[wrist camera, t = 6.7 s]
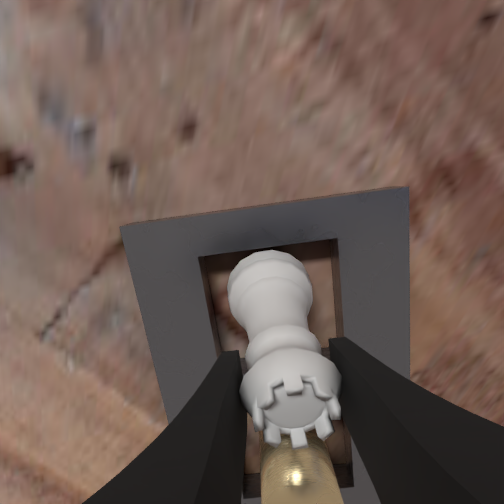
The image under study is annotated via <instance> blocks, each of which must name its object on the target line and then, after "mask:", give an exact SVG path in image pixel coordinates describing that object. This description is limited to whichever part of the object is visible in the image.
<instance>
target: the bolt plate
mask: <svg viewBox="0 0 504 504" xmlns="http://www.w3.org/2000/svg"><path fill="white" fill-rule="evenodd" d="M120 231H121V235H122V239H123V243H124V247H125V251H126V255H127V259H128V263H129V267H130V271H131V275H132V279H133V283H134V287H135V291H136V295H137V299H138V303H139V307H140V311H141V315H142V319H143V323H144V327H145V331H146V335H147V339H148V343H149V347H150V351H151V355H152V359H153V363H154V367H155V371H156V375H157V379H158V383H159V387H160V391H161V395H162V399H163V403H164V407H165V411H166V415H167V419H168V423H169V424H170V423H171V422H172V421H173V419H174V418H175V417H176V416H177V415H178V413H179V412H180V411H181V410H182V408H183V407H184V406H185V405H186V403H187V402H188V401H189V399H190V398H191V397H192V396H193V394H194V393H195V391H196V390H197V389H198V387H199V386H200V384H201V383H202V381H203V380H204V379H205V377H206V376H207V374H208V373H209V371H210V370H211V368H212V366H213V365H214V363H215V362H216V360H217V359H218V357H219V355H220V354H221V353H222V352H221V346H220V341H219V335H218V330H217V324H216V319H215V314H214V308H213V303H212V297H211V292H210V286H209V281H208V275H207V270H206V265H205V259H204V256H207V255H214V254H222V253H229V252H237V251H244V250H252V249H259V248H266V247H274V246H281V245H289V244H296V243H304V242H311V241H318V240H326V239H330V249H331V262H332V276H333V290H334V304H335V317H336V331H337V338H339V337H347V338H348V339H350V340H351V341H352V342H354V343H355V344H357V345H358V346H359V347H361V348H362V349H363V350H365V351H366V352H368V353H369V354H370V355H372V356H373V357H375V358H376V359H378V360H379V361H381V362H382V363H383V364H385V365H386V366H388V367H389V368H391V369H393V370H394V371H396V372H397V373H399V374H400V375H402V376H404V377H405V378H407V379H409V380H410V273H409V187H386V188H379V189H372V190H365V191H358V192H350V193H343V194H336V195H329V196H322V197H315V198H307V199H300V200H293V201H286V202H279V203H271V204H264V205H257V206H250V207H243V208H235V209H228V210H221V211H214V212H207V213H199V214H192V215H185V216H178V217H171V218H163V219H156V220H149V221H142V222H135V223H130V224H127V225H124V226H120ZM321 354H322V356H323V357H325V358H327V359H328V360H330V351H329V348H321ZM240 362H241V368H242V374H243V377H244V375H245V374H246V373H247V372H248V371H249V370H248V369H247V365H246V360H245V358H240ZM343 427H344V441H345V455H346V464H338V465H332V462H331V458H330V455H329V452H328V448H327V445H326V441H325V440H324V441H323V440H321V439H320V438H319V437H318V435H317V432H316V428H315V429H312V430H310V431H308V432H305V434H306V438H307V442H308V447H309V448H302V449H295V450H292V445H291V439H290V435H287V434H280V437H281V443H280V444H279V446H278V447H277V448H276V447H274V446H271V445H269V444H267V443H265V442H264V440H263V430H261V431H259V446H260V473H258V474H249V475H244V473H243V485H242V497H241V504H381V502H380V500H379V498H378V495H377V493H376V490H375V488H374V486H373V483H372V481H371V479H370V477H369V475H368V472H367V470H366V468H365V466H364V464H363V461H362V459H361V457H360V455H359V453H358V451H357V448H356V446H355V444H354V442H353V440H352V437H351V435H350V433H349V431H348V428H347V426H346V424H345V422H344V420H343Z"/></svg>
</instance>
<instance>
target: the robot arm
mask: <svg viewBox="0 0 504 504" xmlns="http://www.w3.org/2000/svg"><path fill="white" fill-rule="evenodd" d="M329 351H330V361H332V362H333V363H334V364H335V366H336V368H337V369H338V371H339V373H340V374H341V376H342V393H341V395H340V397H339V399H338V402H339V404H340V407H341V415H342V417H343V420H344V422H345V424H346V426H347V428H348V431H349V433H350V435H351V437H352V440H353V442H354V444H355V446H356V448H357V451H358V453H359V455H360V457H361V459H362V461H363V464H364V466H365V468H366V470H367V472H368V475H369V477H370V479H371V481H372V483H373V486H374V488H375V490H376V493H377V495H378V498H379V500H380V502H381V504H504V427H503V426H501V425H498V424H496V423H494V422H492V421H489V420H487V419H485V418H482V417H480V416H478V415H476V414H473V413H471V412H469V411H467V410H465V409H463V408H461V407H458V406H456V405H454V404H452V403H451V402H449V401H447V400H445V399H443V398H441V397H439V396H437V395H435V394H433V393H431V392H429V391H428V390H426V389H424V388H422V387H420V386H419V385H417V384H415V383H414V382H412V381H410V380H409V379H407V378H405V377H404V376H402V375H400V374H399V373H397V372H396V371H394V370H393V369H391V368H389V367H388V366H386V365H385V364H383V363H382V362H381V361H379V360H378V359H376V358H375V357H373V356H372V355H370V354H369V353H368V352H366V351H365V350H363V349H362V348H361V347H359V346H358V345H357V344H355V343H354V342H352V341H351V340H350V339H348V338H347V337H339V338H331V339H329ZM242 380H243V374H242V368H241V362H240V356H239V350H235V351H227V352H222V353H221V354H220V355H219V357H218V359H217V360H216V362H215V363H214V365H213V366H212V368H211V370H210V371H209V373H208V374H207V376H206V377H205V379H204V380H203V381H202V383H201V384H200V386H199V387H198V389H197V390H196V391H195V393H194V394H193V396H192V397H191V398H190V399H189V401H188V402H187V403H186V405H185V406H184V407H183V408H182V410H181V411H180V412H179V413H178V415H177V416H176V417H175V418H174V419H173V421H172V422H171V423H170V424H169V425H168V426H167V427H166V428H165V429H164V431H163V432H162V433H161V434H160V435H159V436H158V437H157V438H156V439H155V440H154V441H153V442H152V443H151V444H150V445H149V446H148V447H147V448H146V449H145V450H144V451H143V452H141V453H140V454H139V455H138V456H137V457H136V458H135V459H134V460H133V461H132V462H131V463H130V464H129V465H128V466H127V467H125V468H124V469H123V470H122V471H121V472H120V473H119V474H118V475H116V476H115V477H114V478H113V479H112V480H110V481H109V482H108V483H107V484H106V485H105V486H103V487H102V488H101V489H100V490H98V491H97V492H96V493H95V494H93V495H92V496H91V497H90V498H88V499H87V500H86V501H85V502H83V503H82V504H241V497H242V485H243V473H244V461H245V448H246V436H247V411H246V410H245V409H244V408H243V406H242V403H241V399H240V394H239V389H240V386H241V383H242Z"/></svg>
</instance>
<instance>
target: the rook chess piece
mask: <svg viewBox="0 0 504 504" xmlns="http://www.w3.org/2000/svg"><path fill="white" fill-rule="evenodd" d="M227 291H228V300H229V306H230V311H231V313H232V314H233V316H234V317H235V319H236V320H237V321H238V323H239V324H240V325H241V326H242V327H243V328H244V329H245V330H246V331H247V334H248V338H249V342H250V343H249V345H248V348H247V351H246V355H245V360H246V365H247V369H248V370H249V371H248V372H247V373H246V374H245V375H244V377H243V380H242V383H241V386H240V389H239V394H240V399H241V403H242V406H243V408H244V409H245V410H246V411H247V412H248V413H249V415H250V416H251V417H252V418H253V424H254V429H255V432H258V431H261V430H263V440H264V442H265V443H267V444H269V445H271V446H274V447H276V448H277V447H278V446H279V444H280V443H281V437H280V434H287V435H290V439H291V445H292V450H295V449H302V448H309V447H308V442H307V438H306V434H305V432H308V431H310V430H312V429H315V428H316V432H317V435H318V437H319V438H320V439H321V440H323V441H324V440H326V439H327V438H328V437H329V436H330V435H332V434H333V433H334V432H335V430H334V427H333V424H332V421H331V420H341V407H340V404H339V402H338V399H339V397H340V395H341V393H342V376H341V374H340V373H339V371H338V369H337V368H336V366H335V364H334V363H333V362H332V361H330V360H328V359H327V358H325V357H323V356H322V354H321V344H320V343H319V341H318V340H317V338H316V336H315V335H314V334H313V333H311V332H310V331H309V328H308V322H307V316H308V314H309V311H310V308H311V305H312V303H313V295H312V283H311V282H310V280H309V275H308V273H307V271H306V270H305V268H304V266H303V264H302V263H301V262H300V261H298V260H297V259H296V258H294V257H293V256H291V255H290V254H288V253H284V252H279V251H275V250H268V251H261V252H255V253H253V254H252V255H250V256H248V257H246V258H244V259H243V260H241V261H240V262H239V263H238V265H237V266H236V267H235V268H234V270H233V271H232V272H231V274H230V277H229V281H228V285H227Z"/></svg>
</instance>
